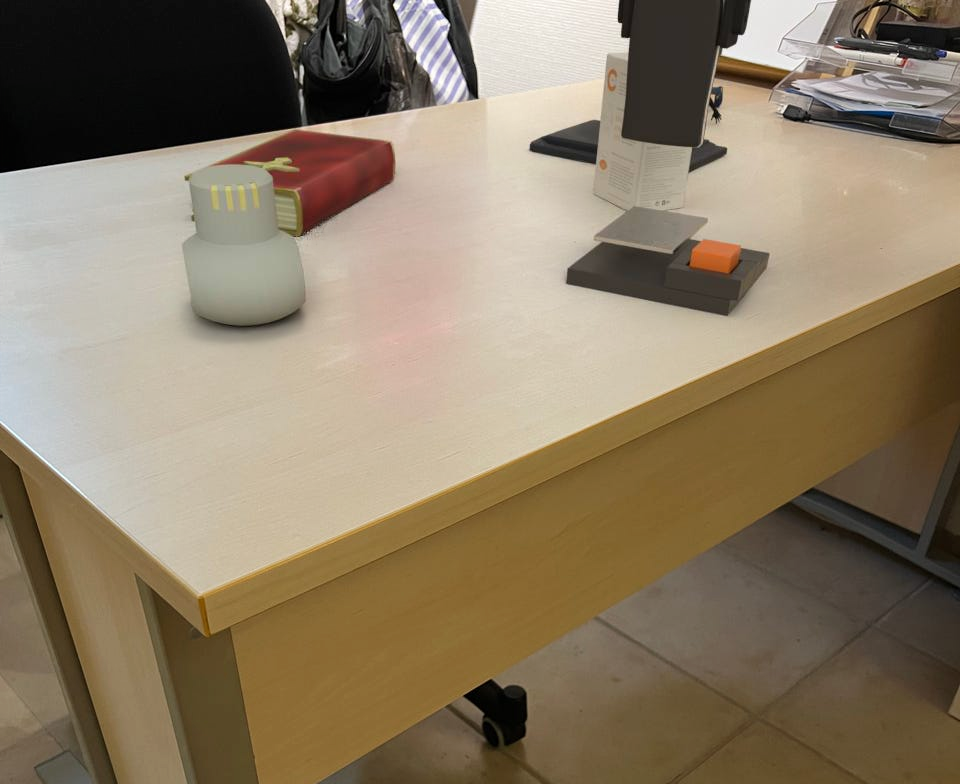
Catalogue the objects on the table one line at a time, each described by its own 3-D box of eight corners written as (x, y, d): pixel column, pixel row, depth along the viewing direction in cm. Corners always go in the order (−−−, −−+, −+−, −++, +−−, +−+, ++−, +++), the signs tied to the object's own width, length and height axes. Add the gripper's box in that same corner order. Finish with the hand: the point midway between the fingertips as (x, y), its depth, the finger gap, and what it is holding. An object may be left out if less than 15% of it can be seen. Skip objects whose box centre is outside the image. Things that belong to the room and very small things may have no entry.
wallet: (525, 132, 113) (592, 112, 123) (524, 149, 114) (590, 128, 124) (673, 162, 104) (733, 138, 114) (670, 180, 106) (729, 155, 115)
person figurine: (668, 113, 140) (625, 115, 126) (674, 77, 137) (631, 76, 124) (740, 122, 136) (703, 125, 122) (747, 86, 134) (711, 85, 120)
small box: (684, 209, 97) (707, 63, 89) (632, 215, 95) (651, 67, 87) (640, 188, 103) (658, 49, 94) (591, 194, 101) (604, 52, 92)
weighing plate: (707, 222, 84) (708, 218, 84) (672, 254, 77) (673, 249, 77) (633, 210, 86) (634, 205, 86) (593, 240, 80) (593, 235, 79)
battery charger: (711, 141, 78) (739, -28, 70) (700, 151, 75) (727, -23, 68) (630, 131, 80) (649, -34, 72) (616, 141, 77) (634, -30, 70)
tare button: (738, 264, 77) (741, 245, 76) (727, 276, 75) (731, 256, 74) (700, 257, 78) (703, 238, 77) (688, 269, 76) (691, 249, 75)
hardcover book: (396, 181, 103) (394, 138, 100) (302, 237, 88) (297, 188, 85) (298, 168, 106) (294, 126, 103) (191, 220, 91) (183, 172, 88)
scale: (772, 270, 84) (780, 235, 82) (733, 318, 75) (741, 280, 73) (619, 242, 89) (623, 208, 87) (565, 285, 80) (568, 248, 78)
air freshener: (312, 335, 70) (299, 192, 64) (199, 345, 68) (174, 199, 62) (292, 284, 78) (279, 152, 72) (190, 292, 76) (166, 157, 70)
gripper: (869, -276, 61) (801, 45, 72) (617, -273, 67) (591, 24, 78) (848, -288, 56) (779, 60, 67) (576, -284, 62) (555, 36, 73)
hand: (678, 38), depth 73 cm, fingers closed on battery charger, 7 cm apart
